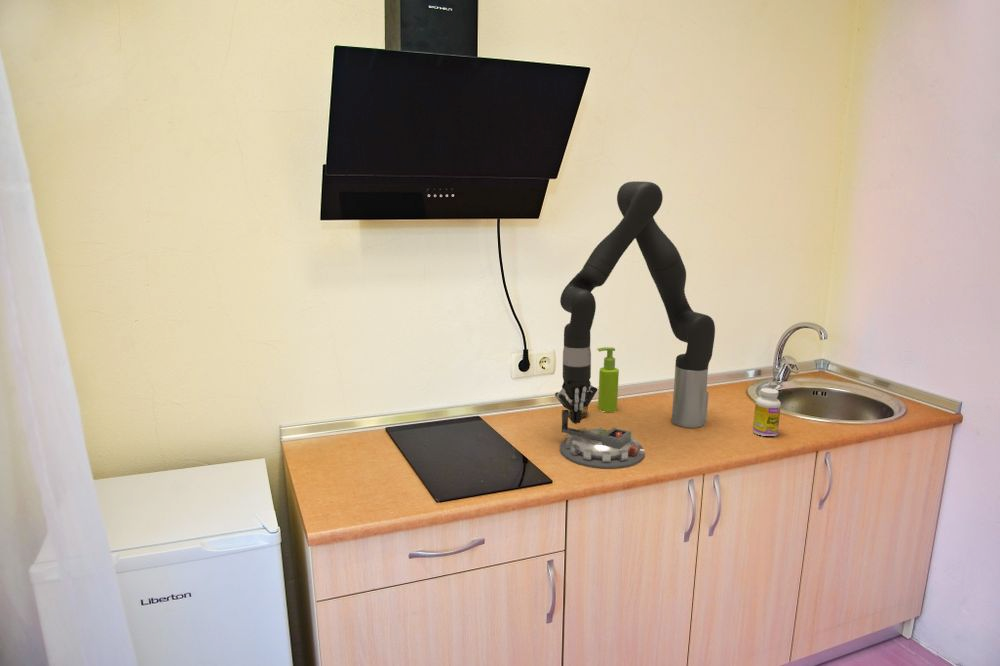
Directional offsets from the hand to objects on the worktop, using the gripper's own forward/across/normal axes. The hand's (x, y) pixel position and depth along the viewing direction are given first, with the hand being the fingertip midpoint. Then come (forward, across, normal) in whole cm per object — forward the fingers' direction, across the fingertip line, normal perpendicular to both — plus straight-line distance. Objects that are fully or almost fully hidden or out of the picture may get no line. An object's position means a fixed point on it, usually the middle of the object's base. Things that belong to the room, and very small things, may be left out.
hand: (575, 422), depth 177 cm
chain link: (+2, +4, -13) cm, 14 cm away
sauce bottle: (+6, +12, +16) cm, 21 cm away
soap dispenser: (+6, +23, +16) cm, 29 cm away
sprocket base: (+5, +1, -10) cm, 11 cm away
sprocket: (+4, +1, -9) cm, 10 cm away
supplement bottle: (+6, +50, -22) cm, 55 cm away
